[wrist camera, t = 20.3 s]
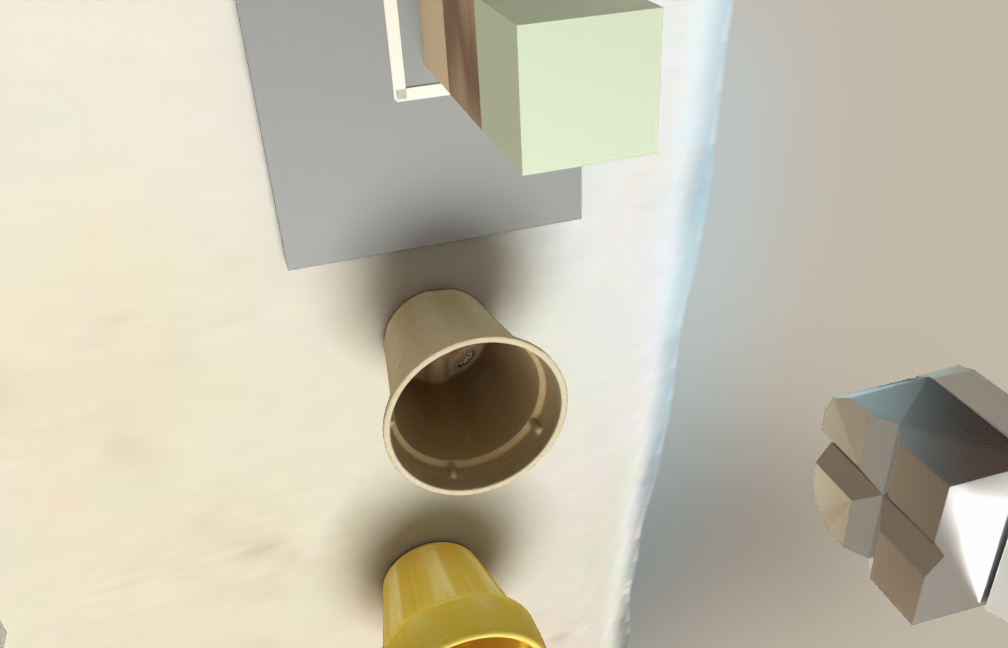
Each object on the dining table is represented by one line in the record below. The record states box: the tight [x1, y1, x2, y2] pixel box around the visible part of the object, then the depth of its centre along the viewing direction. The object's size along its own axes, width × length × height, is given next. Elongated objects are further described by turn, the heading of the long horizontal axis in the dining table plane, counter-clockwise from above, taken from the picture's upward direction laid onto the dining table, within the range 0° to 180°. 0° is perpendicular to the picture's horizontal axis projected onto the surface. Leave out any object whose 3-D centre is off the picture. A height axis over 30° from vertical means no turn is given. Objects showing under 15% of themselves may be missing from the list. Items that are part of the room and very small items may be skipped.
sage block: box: [474, 0, 663, 176], centre depth 32 cm, size 5×5×5 cm
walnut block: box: [442, 0, 482, 130], centre depth 36 cm, size 5×5×5 cm
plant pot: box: [382, 542, 546, 648], centre depth 57 cm, size 10×10×10 cm
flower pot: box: [383, 289, 568, 495], centre depth 48 cm, size 9×9×9 cm
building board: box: [236, 0, 581, 271], centre depth 40 cm, size 24×16×6 cm, turn 3°
